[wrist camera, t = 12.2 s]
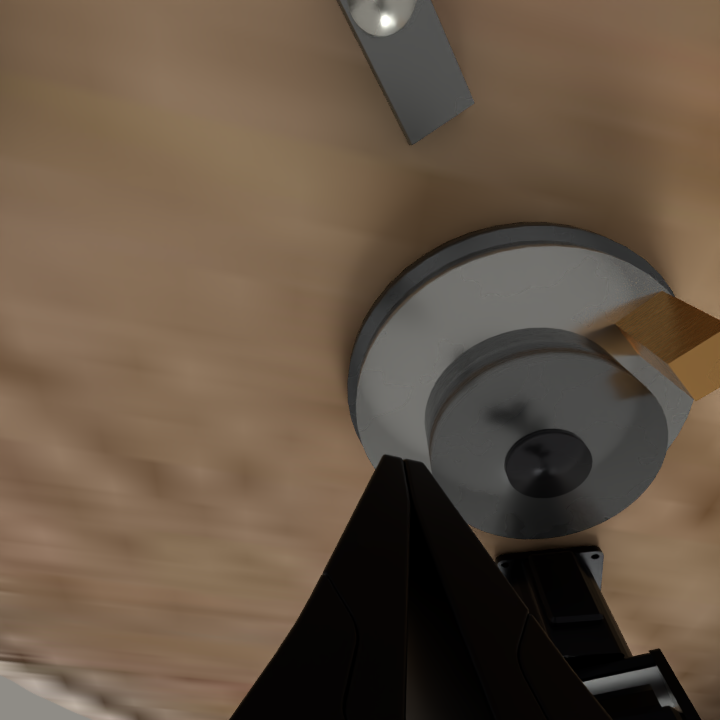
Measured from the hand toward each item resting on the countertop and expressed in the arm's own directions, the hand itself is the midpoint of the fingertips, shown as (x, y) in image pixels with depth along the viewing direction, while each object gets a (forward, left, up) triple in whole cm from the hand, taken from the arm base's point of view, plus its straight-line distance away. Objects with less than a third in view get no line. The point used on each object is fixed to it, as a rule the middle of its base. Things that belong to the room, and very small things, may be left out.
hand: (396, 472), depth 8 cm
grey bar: (+9, -2, -12) cm, 15 cm away
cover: (-6, -5, -10) cm, 13 cm away
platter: (-6, -5, -11) cm, 13 cm away
